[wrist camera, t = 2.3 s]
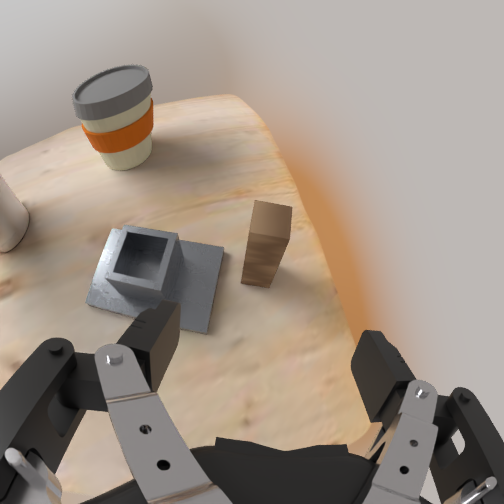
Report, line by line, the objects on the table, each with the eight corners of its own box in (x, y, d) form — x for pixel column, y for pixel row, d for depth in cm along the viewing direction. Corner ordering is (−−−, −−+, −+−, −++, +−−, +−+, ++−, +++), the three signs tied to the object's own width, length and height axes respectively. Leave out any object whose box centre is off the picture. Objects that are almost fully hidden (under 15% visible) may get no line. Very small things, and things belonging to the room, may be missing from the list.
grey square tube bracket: (88, 305, 30) (64, 286, 25) (114, 232, 36) (98, 204, 30) (206, 334, 31) (202, 321, 25) (223, 251, 36) (224, 223, 30)
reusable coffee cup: (150, 179, 40) (131, 100, 27) (85, 178, 40) (55, 110, 26) (169, 131, 46) (161, 61, 33) (111, 132, 46) (94, 69, 32)
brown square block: (240, 283, 34) (249, 232, 23) (245, 258, 36) (254, 200, 25) (268, 287, 34) (289, 239, 23) (272, 262, 36) (292, 206, 25)
